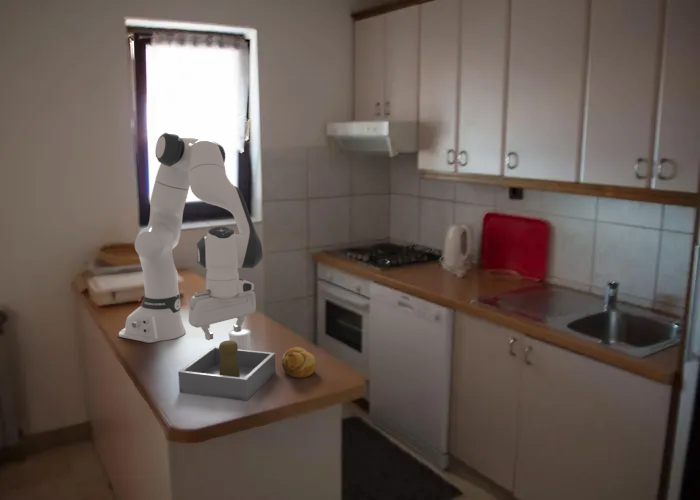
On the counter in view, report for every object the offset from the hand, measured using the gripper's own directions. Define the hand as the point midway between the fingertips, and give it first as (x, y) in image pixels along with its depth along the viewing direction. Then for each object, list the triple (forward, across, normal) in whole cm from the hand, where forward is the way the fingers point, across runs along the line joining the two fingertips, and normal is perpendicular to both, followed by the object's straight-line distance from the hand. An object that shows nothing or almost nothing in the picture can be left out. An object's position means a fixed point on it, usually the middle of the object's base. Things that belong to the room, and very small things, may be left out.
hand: (223, 335), depth 174 cm
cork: (+13, +1, -1) cm, 13 cm away
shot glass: (+14, +17, +16) cm, 28 cm away
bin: (+14, +1, -1) cm, 14 cm away
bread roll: (+14, +20, -9) cm, 26 cm away
